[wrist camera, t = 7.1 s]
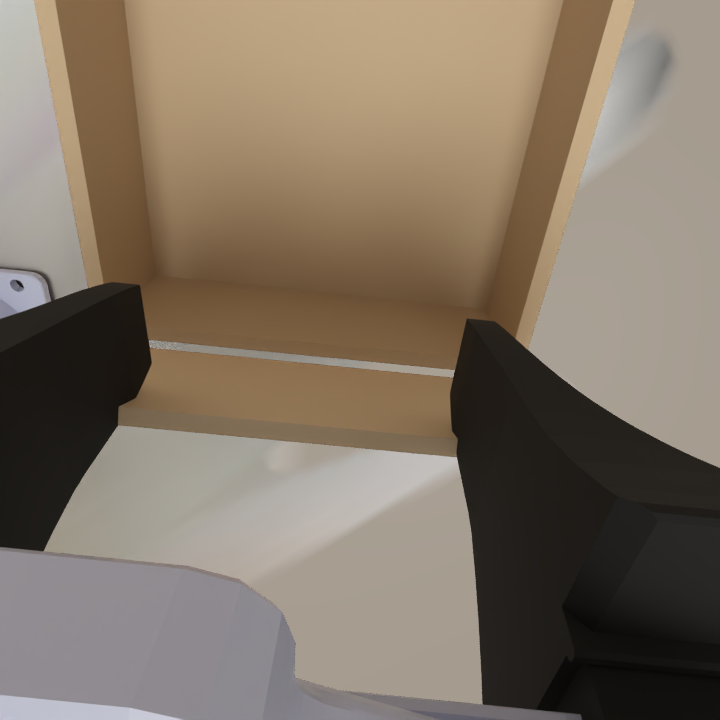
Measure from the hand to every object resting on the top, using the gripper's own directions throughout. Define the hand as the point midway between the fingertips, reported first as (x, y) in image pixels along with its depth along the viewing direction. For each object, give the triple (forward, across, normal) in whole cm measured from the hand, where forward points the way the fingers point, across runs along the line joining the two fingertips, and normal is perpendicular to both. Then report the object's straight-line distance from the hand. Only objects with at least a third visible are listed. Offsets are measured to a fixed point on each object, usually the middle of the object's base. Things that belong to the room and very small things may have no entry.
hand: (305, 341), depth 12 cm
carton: (+9, 0, -5) cm, 10 cm away
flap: (+1, 0, +2) cm, 2 cm away
